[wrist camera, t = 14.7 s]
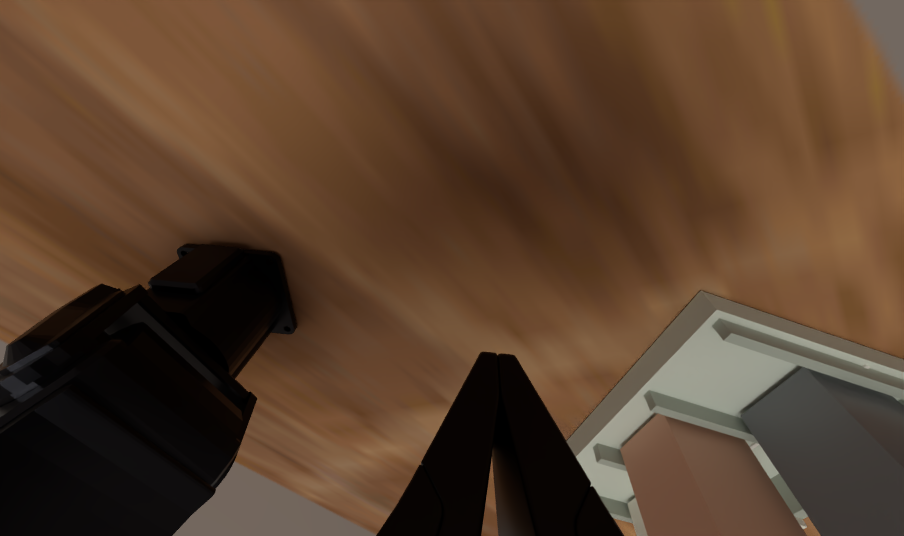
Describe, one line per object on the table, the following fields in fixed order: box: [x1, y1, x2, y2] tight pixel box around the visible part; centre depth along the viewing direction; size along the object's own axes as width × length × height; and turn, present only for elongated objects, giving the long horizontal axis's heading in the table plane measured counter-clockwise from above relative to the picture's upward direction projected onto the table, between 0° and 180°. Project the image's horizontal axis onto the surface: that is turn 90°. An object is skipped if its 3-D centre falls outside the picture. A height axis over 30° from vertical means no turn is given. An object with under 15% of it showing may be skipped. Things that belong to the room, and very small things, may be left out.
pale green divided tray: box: [567, 291, 904, 529], centre depth 25 cm, size 15×21×5 cm
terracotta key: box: [620, 414, 807, 536], centre depth 22 cm, size 6×5×8 cm
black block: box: [741, 367, 904, 536], centre depth 19 cm, size 6×5×8 cm
